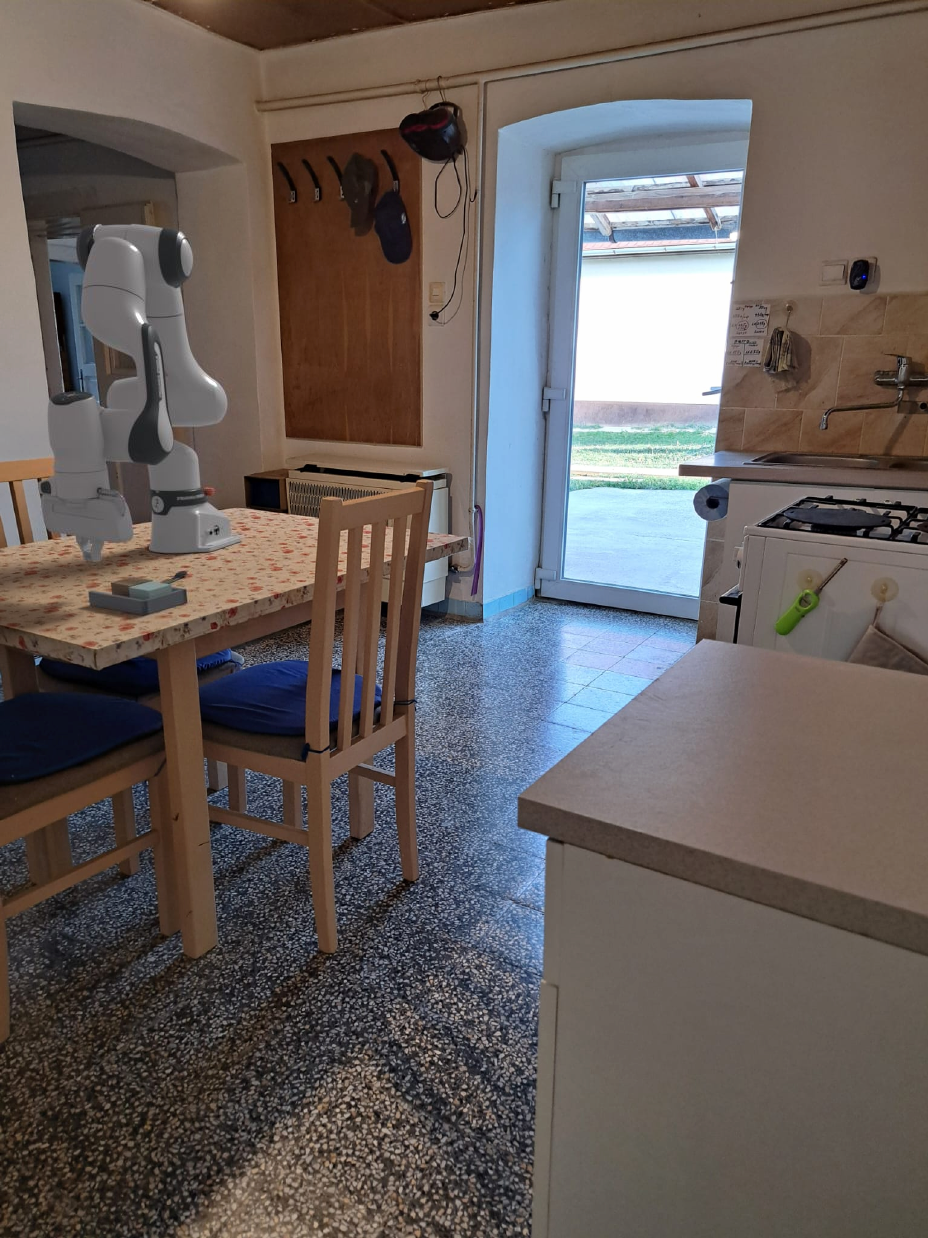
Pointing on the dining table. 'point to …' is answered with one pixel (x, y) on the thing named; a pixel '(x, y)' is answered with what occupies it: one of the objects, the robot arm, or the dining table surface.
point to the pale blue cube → (149, 590)
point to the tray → (138, 601)
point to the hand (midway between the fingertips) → (92, 560)
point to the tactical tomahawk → (175, 577)
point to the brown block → (126, 585)
